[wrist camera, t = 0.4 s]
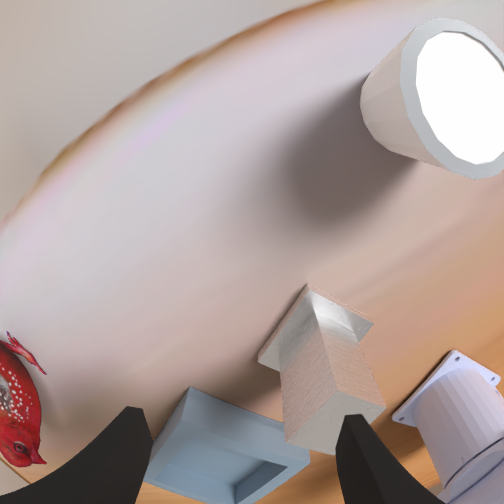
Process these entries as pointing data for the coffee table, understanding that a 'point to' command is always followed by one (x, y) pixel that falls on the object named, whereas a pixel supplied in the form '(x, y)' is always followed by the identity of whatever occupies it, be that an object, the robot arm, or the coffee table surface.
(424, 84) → the off-white tapered cylinder
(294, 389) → the grey t-shaped bar
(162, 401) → the coffee table surface
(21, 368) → the decorative bird figurine
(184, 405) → the slate well
